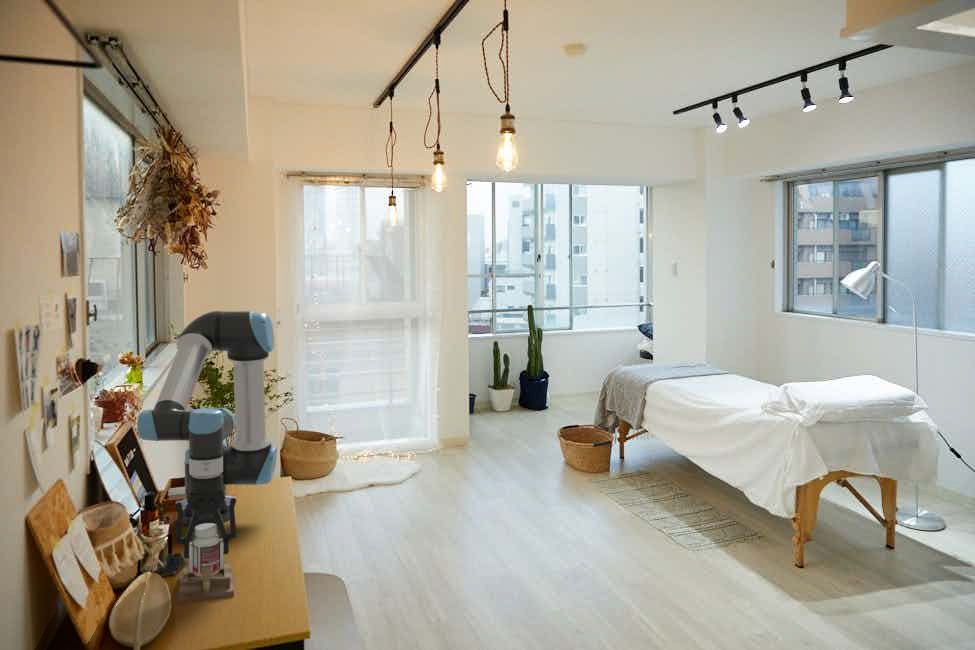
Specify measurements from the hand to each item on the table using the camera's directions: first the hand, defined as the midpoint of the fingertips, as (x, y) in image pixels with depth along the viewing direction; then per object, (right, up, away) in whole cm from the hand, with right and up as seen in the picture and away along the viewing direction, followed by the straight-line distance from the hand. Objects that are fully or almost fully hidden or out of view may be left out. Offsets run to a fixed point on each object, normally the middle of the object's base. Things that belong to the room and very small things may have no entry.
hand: (206, 568), depth 175 cm
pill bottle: (0, -1, 0) cm, 1 cm away
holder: (0, -5, 0) cm, 5 cm away
